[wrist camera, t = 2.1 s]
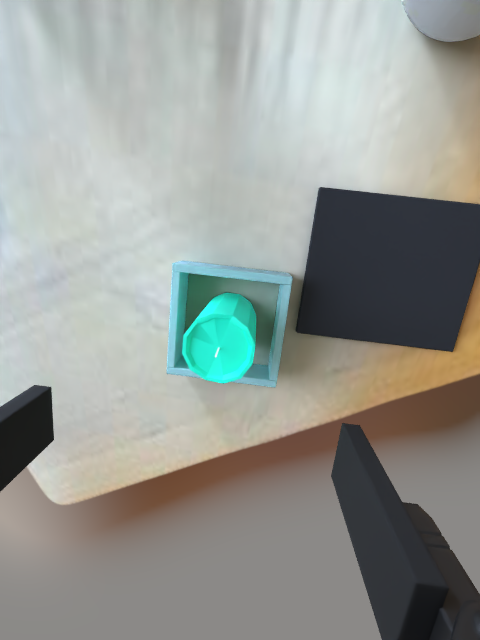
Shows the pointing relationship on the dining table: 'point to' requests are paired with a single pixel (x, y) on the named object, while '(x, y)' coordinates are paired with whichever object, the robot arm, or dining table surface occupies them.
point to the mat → (389, 268)
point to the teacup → (445, 18)
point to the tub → (181, 270)
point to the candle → (222, 339)
